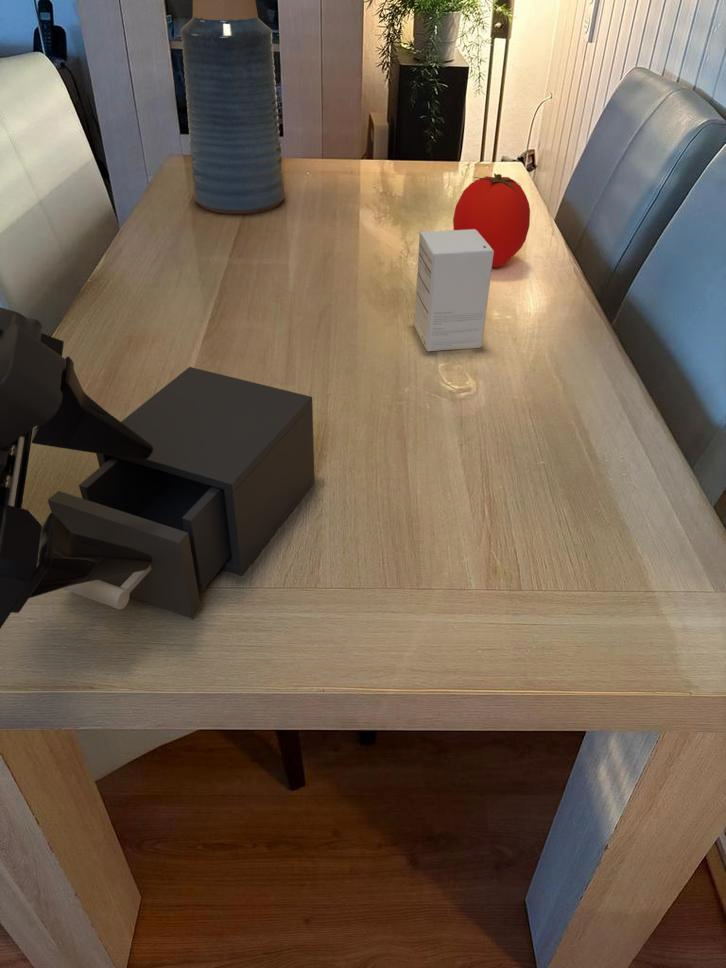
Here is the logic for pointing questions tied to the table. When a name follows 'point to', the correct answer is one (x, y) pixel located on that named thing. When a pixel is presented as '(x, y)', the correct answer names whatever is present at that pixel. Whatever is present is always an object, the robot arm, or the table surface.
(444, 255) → the white packaging box
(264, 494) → the cabinet casing
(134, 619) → the table surface
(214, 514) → the drawer
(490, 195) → the tomato
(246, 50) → the vase
